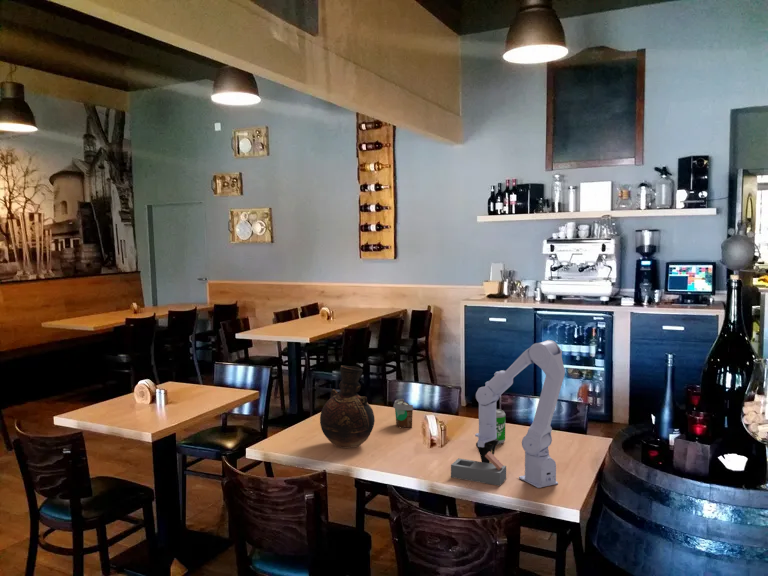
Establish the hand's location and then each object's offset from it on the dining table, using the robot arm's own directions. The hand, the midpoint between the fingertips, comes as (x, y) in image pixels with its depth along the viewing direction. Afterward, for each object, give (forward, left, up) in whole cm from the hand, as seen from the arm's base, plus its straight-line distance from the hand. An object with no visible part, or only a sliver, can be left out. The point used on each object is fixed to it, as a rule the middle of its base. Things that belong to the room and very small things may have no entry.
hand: (487, 462), depth 199 cm
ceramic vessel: (+44, +32, -2) cm, 54 cm away
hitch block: (-5, +7, -2) cm, 9 cm away
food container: (+58, +2, -2) cm, 58 cm away
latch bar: (-9, +4, +4) cm, 11 cm away
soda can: (+23, -20, -2) cm, 30 cm away
